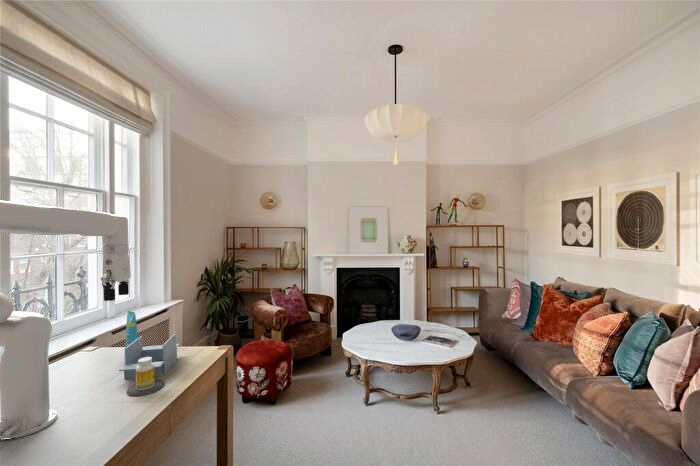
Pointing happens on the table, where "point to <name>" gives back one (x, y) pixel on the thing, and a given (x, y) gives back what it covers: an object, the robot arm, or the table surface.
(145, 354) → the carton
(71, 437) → the table surface
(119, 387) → the table surface
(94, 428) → the table surface
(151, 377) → the supplement bottle
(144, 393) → the coaster
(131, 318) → the tube
